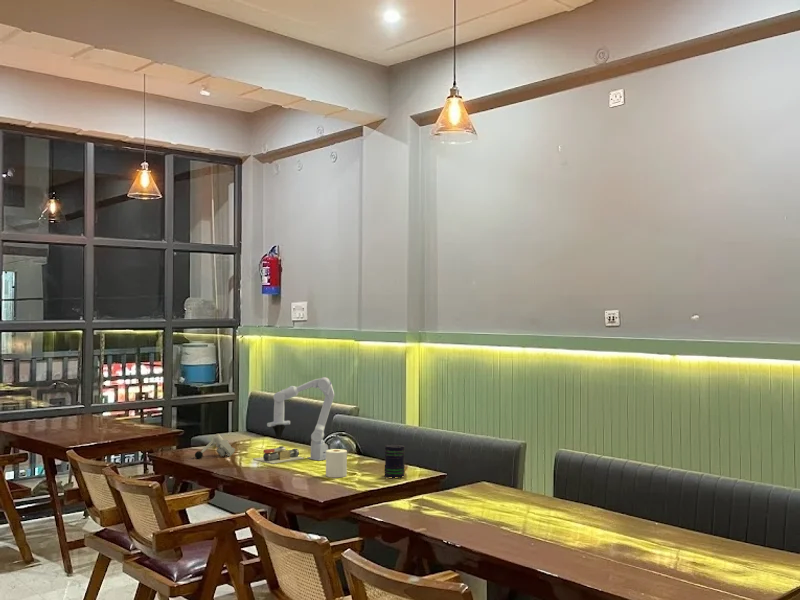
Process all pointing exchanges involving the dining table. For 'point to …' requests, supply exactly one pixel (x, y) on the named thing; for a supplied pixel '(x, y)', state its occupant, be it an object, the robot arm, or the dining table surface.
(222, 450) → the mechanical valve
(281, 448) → the lever
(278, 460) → the mounting board
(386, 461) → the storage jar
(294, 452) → the valve body
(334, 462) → the toilet paper
